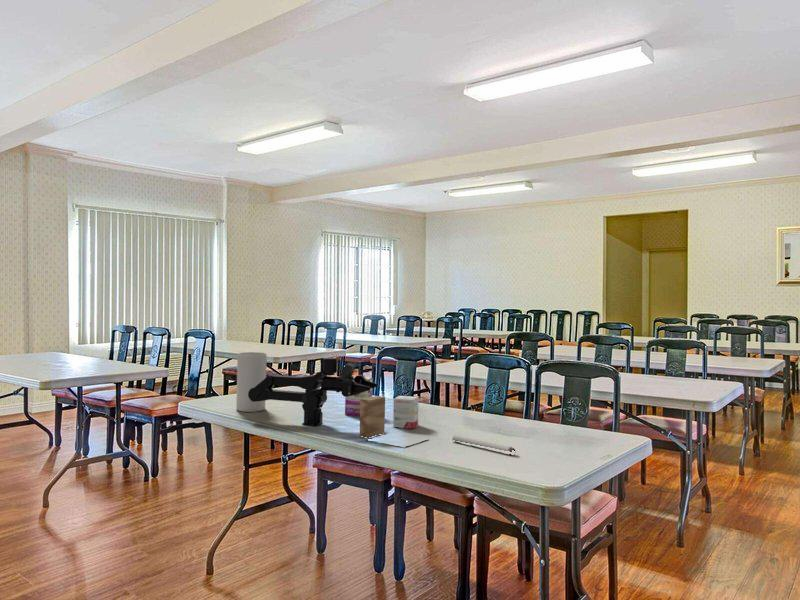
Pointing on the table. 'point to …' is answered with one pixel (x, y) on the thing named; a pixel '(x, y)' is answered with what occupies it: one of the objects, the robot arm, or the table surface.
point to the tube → (482, 443)
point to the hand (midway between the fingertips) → (373, 386)
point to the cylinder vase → (249, 379)
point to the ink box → (405, 412)
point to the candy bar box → (356, 401)
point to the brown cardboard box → (372, 416)
